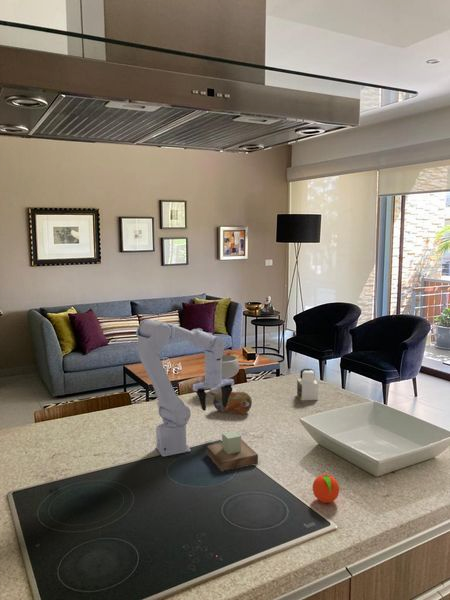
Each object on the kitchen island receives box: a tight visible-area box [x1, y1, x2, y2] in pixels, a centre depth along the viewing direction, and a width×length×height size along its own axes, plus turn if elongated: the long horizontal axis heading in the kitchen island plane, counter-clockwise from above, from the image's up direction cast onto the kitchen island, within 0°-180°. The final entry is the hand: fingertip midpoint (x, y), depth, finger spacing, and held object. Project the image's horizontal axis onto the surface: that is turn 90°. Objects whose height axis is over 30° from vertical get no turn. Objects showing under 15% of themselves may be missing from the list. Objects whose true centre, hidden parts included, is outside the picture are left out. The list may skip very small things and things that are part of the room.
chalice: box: [209, 354, 240, 395], centre depth 217 cm, size 14×14×15 cm
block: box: [221, 430, 242, 454], centre depth 154 cm, size 4×4×5 cm
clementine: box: [312, 473, 340, 504], centre depth 130 cm, size 8×7×7 cm
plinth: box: [206, 438, 259, 472], centre depth 154 cm, size 12×12×3 cm
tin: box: [212, 390, 253, 415], centre depth 193 cm, size 15×3×8 cm, turn 75°
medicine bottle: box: [296, 368, 319, 402], centre depth 208 cm, size 7×7×12 cm
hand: (214, 407), depth 172 cm, fingers open, 7 cm apart
